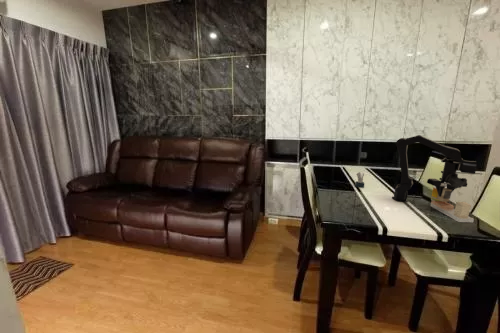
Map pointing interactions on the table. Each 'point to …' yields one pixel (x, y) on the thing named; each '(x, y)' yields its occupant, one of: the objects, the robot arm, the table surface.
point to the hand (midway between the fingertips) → (443, 196)
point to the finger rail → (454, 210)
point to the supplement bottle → (435, 193)
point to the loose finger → (445, 195)
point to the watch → (360, 180)
